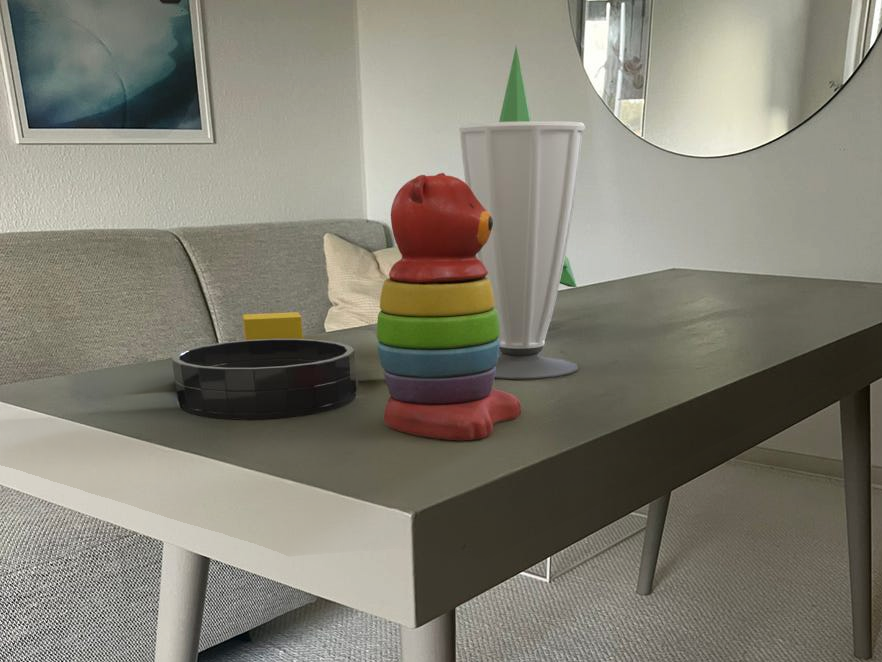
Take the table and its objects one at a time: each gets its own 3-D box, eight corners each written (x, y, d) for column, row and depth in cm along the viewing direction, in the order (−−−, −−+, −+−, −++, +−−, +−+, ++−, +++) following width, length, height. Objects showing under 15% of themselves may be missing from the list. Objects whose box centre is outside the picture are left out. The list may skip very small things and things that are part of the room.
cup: (592, 377, 94) (602, 120, 84) (473, 383, 92) (470, 121, 83) (561, 356, 104) (567, 126, 95) (454, 361, 102) (448, 126, 93)
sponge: (248, 358, 106) (243, 319, 104) (246, 352, 109) (242, 314, 107) (304, 355, 107) (301, 316, 105) (301, 349, 110) (298, 312, 109)
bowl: (177, 424, 78) (169, 373, 76) (181, 388, 92) (175, 343, 90) (367, 412, 81) (364, 362, 80) (344, 378, 95) (341, 335, 93)
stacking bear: (480, 443, 72) (477, 172, 64) (356, 433, 75) (339, 174, 67) (528, 412, 81) (530, 171, 73) (415, 403, 84) (406, 173, 76)
